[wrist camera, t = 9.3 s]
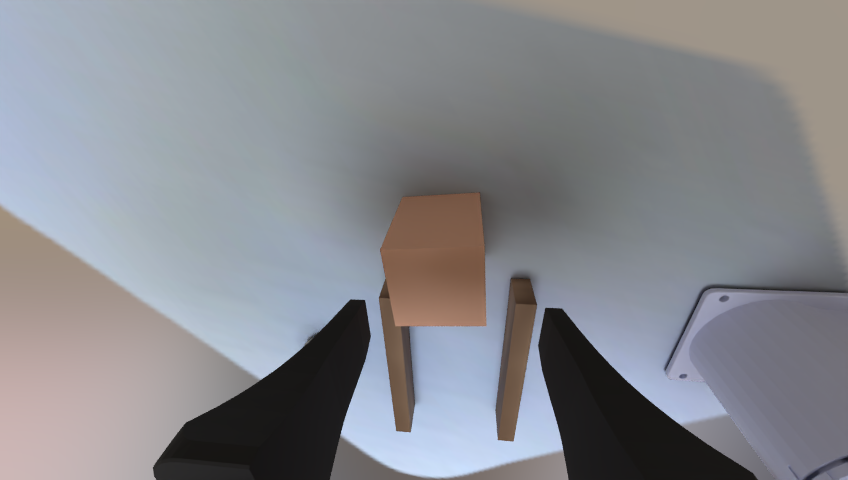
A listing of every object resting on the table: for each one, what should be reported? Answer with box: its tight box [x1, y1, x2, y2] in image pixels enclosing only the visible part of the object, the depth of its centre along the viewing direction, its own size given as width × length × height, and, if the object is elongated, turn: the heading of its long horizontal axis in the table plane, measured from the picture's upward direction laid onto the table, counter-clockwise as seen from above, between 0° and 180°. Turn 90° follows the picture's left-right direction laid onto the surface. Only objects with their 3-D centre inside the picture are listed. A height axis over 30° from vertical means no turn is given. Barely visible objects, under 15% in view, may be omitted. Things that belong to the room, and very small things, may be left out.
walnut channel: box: [379, 279, 537, 441], centre depth 25 cm, size 9×14×2 cm
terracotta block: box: [380, 192, 486, 326], centre depth 18 cm, size 4×4×6 cm
